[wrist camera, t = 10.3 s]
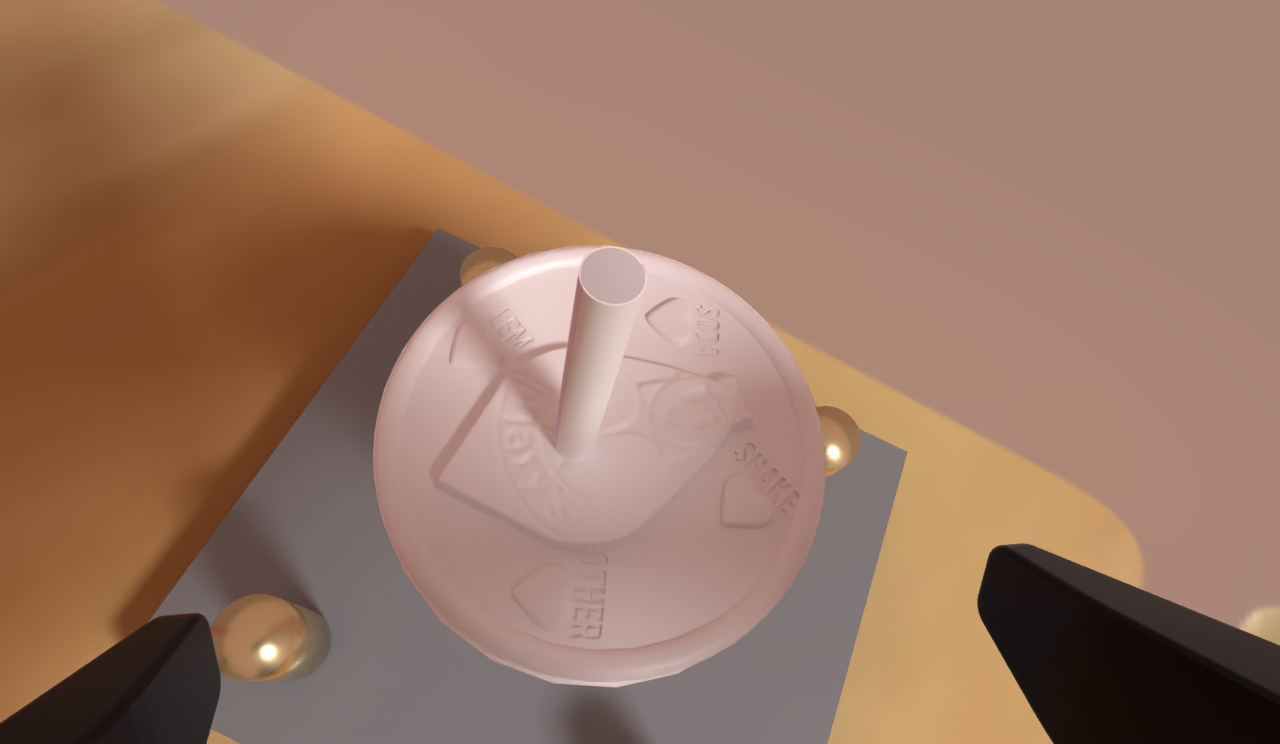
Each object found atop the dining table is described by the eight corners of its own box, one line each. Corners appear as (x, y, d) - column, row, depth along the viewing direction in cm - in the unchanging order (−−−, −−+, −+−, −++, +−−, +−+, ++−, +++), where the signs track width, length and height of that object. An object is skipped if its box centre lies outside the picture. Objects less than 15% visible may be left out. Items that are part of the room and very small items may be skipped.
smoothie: (416, 471, 19) (202, 20, 6) (640, 411, 20) (846, -37, 8) (474, 726, 16) (331, 874, 4) (719, 634, 18) (1190, 521, 5)
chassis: (883, 465, 22) (964, 418, 18) (735, 978, 16) (808, 1075, 12) (442, 255, 23) (426, 163, 19) (140, 676, 17) (22, 674, 13)
